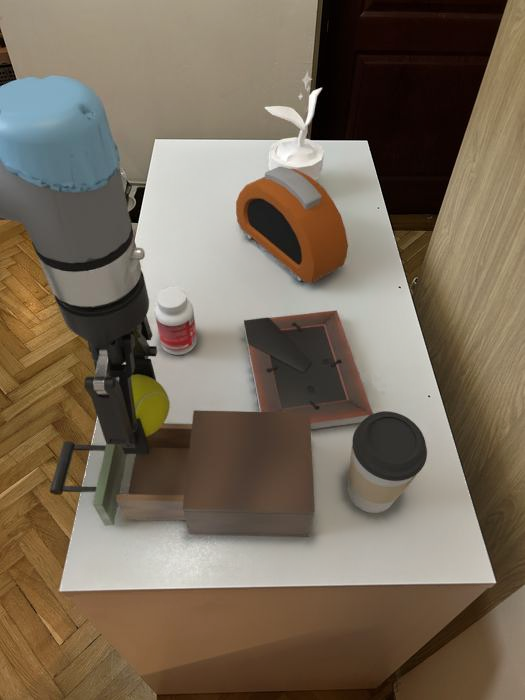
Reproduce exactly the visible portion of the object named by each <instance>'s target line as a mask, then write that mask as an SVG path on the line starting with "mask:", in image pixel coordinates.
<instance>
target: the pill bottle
mask: <svg viewBox="0 0 525 700" xmlns="http://www.w3.org/2000/svg"><path fill="white" fill-rule="evenodd" d="M194 312H195V311H194V307H193V304H192V302H191V301H190V300H189V298H188V295H187V293H186V291H185V290H184V289H183V288H181V287H179V286H167V287H164V288H162V289H161V290H159V291H158V293H157V294H156V305H155V307H154V317H155V318H154V319H155V322H156V327H157V332H158V336H159V341H160V345H161V348H162V349H163V350H164V351H165V352H166V353H168V354H171V355H177V356H179V355H185V354H187V353H189V352H191V351H192V350H193V349H194V348H195V347H196V345H197V342H198V339H197V338H198V337H197V328H196V320H195V313H194Z"/></svg>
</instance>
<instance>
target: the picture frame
mask: <svg viewBox="0 0 525 700" xmlns="http://www.w3.org/2000/svg"><path fill="white" fill-rule="evenodd" d="M243 330H244V331H243V332H244V336H245V341H246V347H247V353H248V356H249V357H248V358H249V361H250V367H251V373H252V377H253V382H254V383H253V384H254V389H255V393H256V399H257V404H258V408H259V412H293V413H310V423H311V430H316V429H324V428H330V427H331V428H332V427H337V426H345V425H353V424H360V423H361V422H362V421H363V420H364V419H365V418H366V417H368V416H370V415H371V414H374V413H373V411H372V408H371V405H370V402H369V400H368V397H367V393H366V391H365V388H364V385H363V382H362V378H361V377H360V373H359V371H358V368H357V365H356V362H355V359H354V356H353V353H352V350H351V347H350V344H349V341H348V340H347V339H348V338H347V336H346V333H345V330H344V328H343V324H342V322H341V319H340V316H339V313H338V311H337V310H336V309H335V310H327V311H318V312H310V313H309V312H308V313H299V314H294V315H293V314H292V315H284V316H275V317H261V318H251V319H243Z"/></svg>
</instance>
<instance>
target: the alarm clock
mask: <svg viewBox="0 0 525 700" xmlns="http://www.w3.org/2000/svg"><path fill="white" fill-rule="evenodd" d="M235 214H236V220H237V224H238V225H239V227H240V229H241V230H242V231H243V232H245V234H247V239H249V240H252V239H253V240H254V241H255V242H256V243H258V245H260V246H261V247H262V248H263V249H265V250H266V251H267V252H268V253H269V254H270V255H272V256H273V257H274V258H275V259H277V260H278V261H279V262H280V263H281V264H283V266H284V267H286V268H287V269H288V270H289V271H291V272H292V273H293V274H295V276H296V279H297V281H299V282H302V281H303V282H304V283H305V284H312V283H315V282H316V281H318V280H320V279H321V278H323V277H325V276H327V275H328V274H330V273H332V272H334V271H336V270H337V269H339V268H341V267H342V266H344V264H345V262H346V259H347V257H348V251H349V243H348V237H347V231H346V227H345V224H344V220H343V217H342V215H341V213H340V211H339V209H338V207H337V205H336V203H335V201H334V200H333V199H332V198H331V196H330V195H329V193H328V191H327V189H325V188H324V187H323V186H322V185H320V184H319V183H318V182H317V181H316V180H313V179H312V178H311V177H309V176H308V175H306V174H304V173H302V172H300V171H298V170H296V169H288V168H285V167H280V166H279V167H277V168H275V169H273V170H270V171H269V170H268V171H266V172H264V176H263V177H261V178H258V179H257V180H254V181H251V182H250V183H247V184H245V186H244V187H243V189H241V190H240V192H239V194H238V196H237V199H236V202H235Z"/></svg>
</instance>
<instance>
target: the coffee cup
mask: <svg viewBox="0 0 525 700" xmlns="http://www.w3.org/2000/svg"><path fill="white" fill-rule="evenodd" d="M427 458H428V449H427V444H426V439H425V436H424V434H423V432H422V430H421V429H420V428H419V426H418V425H417V424H416V423H415V422H414V421H413V420H412V419H410V418H409V417H408V416H406V415H403V414H401V413H398V412H395V411H389V410H387V411H385V410H383V411H377V412H374V413H373V414H371V415H370V416H368V417H366V418H365V419H364V420H363V421H362V422H360V423H358V425H357V427H356V428H355V430H354V432H353V435H352V442H351V449H350V459H349V467H348V479H347V493H348V496H349V498H350V500H351V502H352V503H353V505H355V506H356V507H357V508H358V509H360V510H361V511H364V512H366V513H369V514H378V513H383V512H385V511H387V510H388V509H390V507H391V506H392V505H393V504H394V502H395V501H396V500H397V499H399V497H400V496H401V495H402V494H403V493H404V492H405V490H406V489H407V488H408V486H409V485H410V484H411V483H412V482H413V481H414V479H415V478H416V477H417V475H418V474H419V473H420V472H421V471H422V469H423V468H424V466H425V465H426V462H427Z"/></svg>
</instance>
